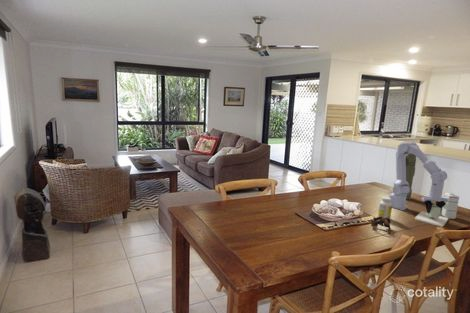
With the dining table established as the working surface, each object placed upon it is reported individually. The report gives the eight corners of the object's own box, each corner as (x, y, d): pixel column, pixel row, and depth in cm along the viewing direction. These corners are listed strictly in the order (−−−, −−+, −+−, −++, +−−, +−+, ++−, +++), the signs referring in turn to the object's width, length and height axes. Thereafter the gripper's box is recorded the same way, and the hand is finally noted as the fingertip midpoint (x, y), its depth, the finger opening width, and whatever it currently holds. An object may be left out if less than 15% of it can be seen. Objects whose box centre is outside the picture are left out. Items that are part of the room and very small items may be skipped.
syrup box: (455, 219, 174) (460, 196, 171) (444, 218, 175) (449, 195, 172) (450, 215, 180) (455, 193, 177) (440, 214, 181) (444, 192, 178)
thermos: (414, 198, 210) (421, 151, 204) (404, 200, 205) (412, 152, 198) (402, 194, 218) (409, 149, 211) (392, 196, 212) (399, 150, 206)
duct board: (414, 219, 171) (415, 212, 170) (421, 212, 182) (422, 206, 181) (442, 227, 161) (444, 219, 161) (448, 219, 173) (449, 212, 172)
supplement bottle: (389, 217, 173) (392, 197, 171) (391, 221, 167) (394, 200, 165) (377, 215, 175) (379, 195, 173) (378, 219, 169) (381, 198, 167)
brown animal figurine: (387, 236, 148) (380, 222, 149) (371, 237, 156) (365, 223, 157) (398, 226, 155) (391, 212, 155) (383, 227, 163) (376, 213, 163)
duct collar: (430, 217, 169) (432, 207, 168) (425, 214, 174) (426, 204, 173) (439, 217, 169) (440, 208, 168) (433, 214, 174) (435, 204, 173)
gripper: (428, 192, 165) (424, 214, 167) (453, 193, 165) (449, 215, 167) (420, 189, 171) (417, 210, 174) (445, 189, 171) (441, 211, 174)
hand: (432, 212), depth 171 cm, fingers closed on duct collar, 5 cm apart
